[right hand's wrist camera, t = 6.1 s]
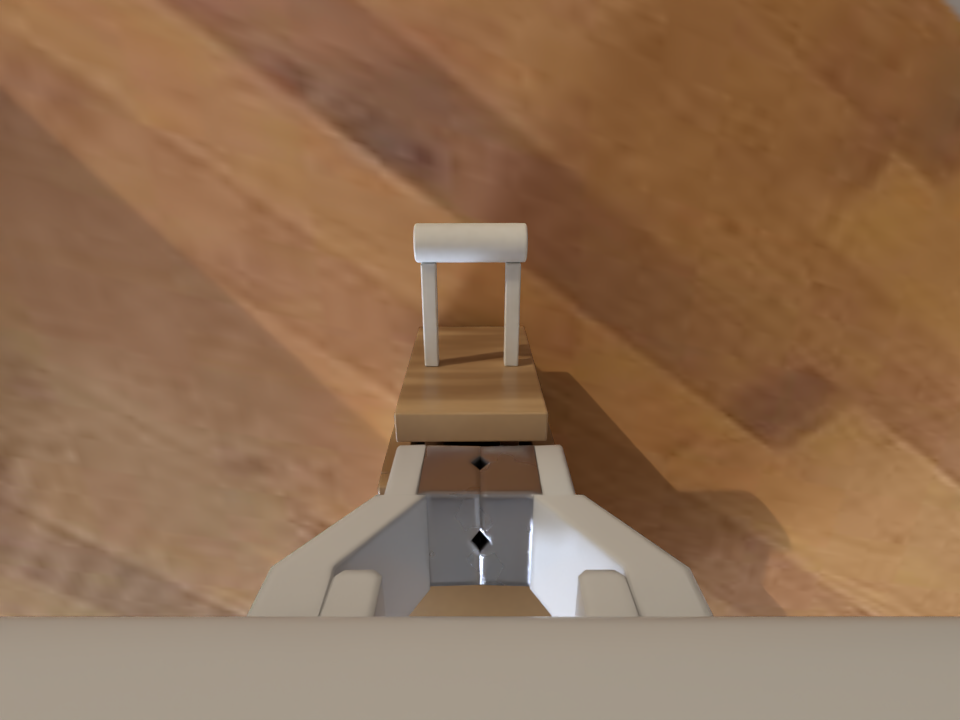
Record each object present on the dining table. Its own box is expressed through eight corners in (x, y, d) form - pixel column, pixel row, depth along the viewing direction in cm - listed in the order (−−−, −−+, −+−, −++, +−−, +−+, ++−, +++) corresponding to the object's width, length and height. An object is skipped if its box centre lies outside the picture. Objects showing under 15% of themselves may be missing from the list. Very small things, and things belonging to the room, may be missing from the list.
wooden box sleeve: (411, 361, 30) (376, 486, 19) (532, 361, 31) (566, 485, 20) (424, 629, 38) (404, 829, 27) (522, 628, 38) (542, 827, 27)
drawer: (413, 208, 26) (382, 243, 17) (528, 208, 27) (557, 243, 17) (430, 599, 36) (415, 759, 26) (515, 598, 36) (530, 757, 26)
